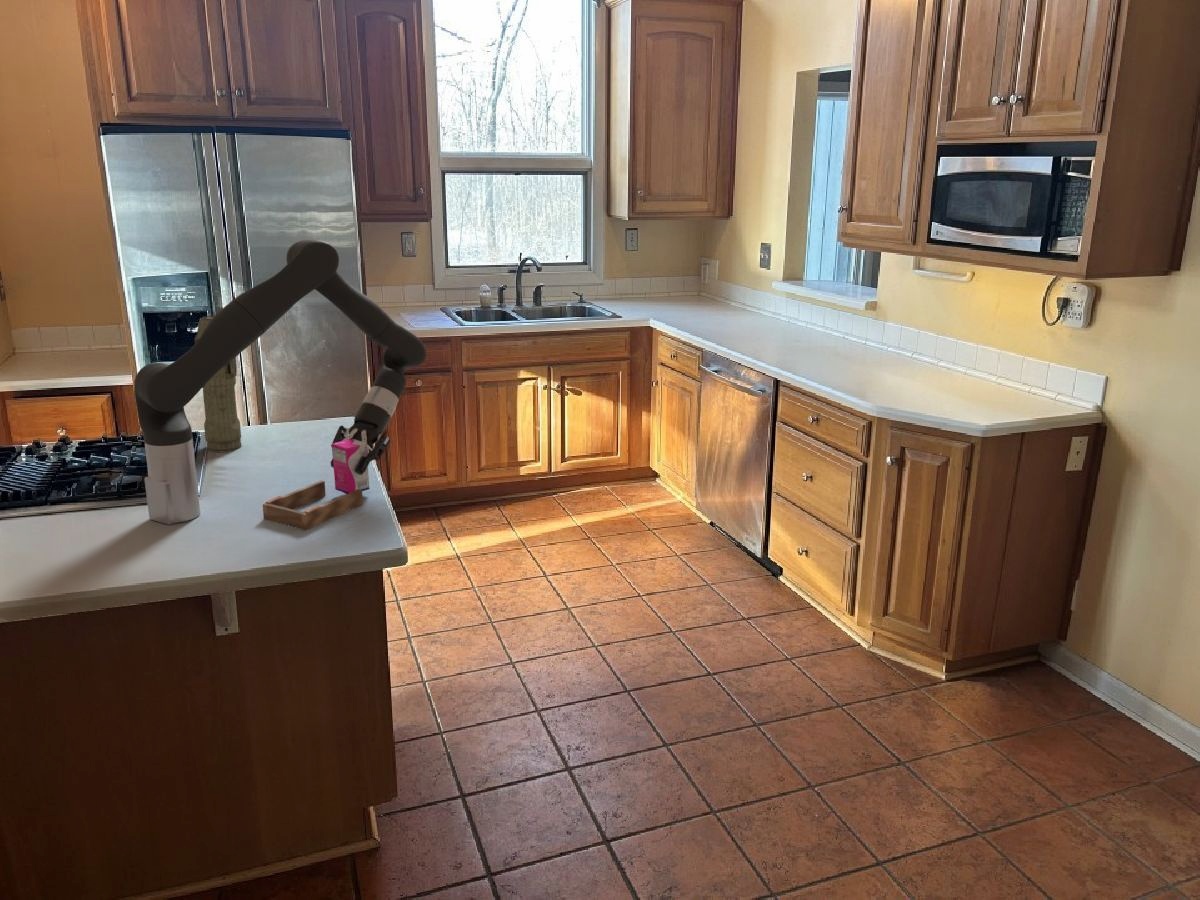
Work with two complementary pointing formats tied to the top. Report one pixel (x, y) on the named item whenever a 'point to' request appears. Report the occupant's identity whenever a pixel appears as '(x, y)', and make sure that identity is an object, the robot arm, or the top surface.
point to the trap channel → (284, 505)
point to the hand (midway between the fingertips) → (346, 470)
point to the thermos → (220, 405)
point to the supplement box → (349, 466)
